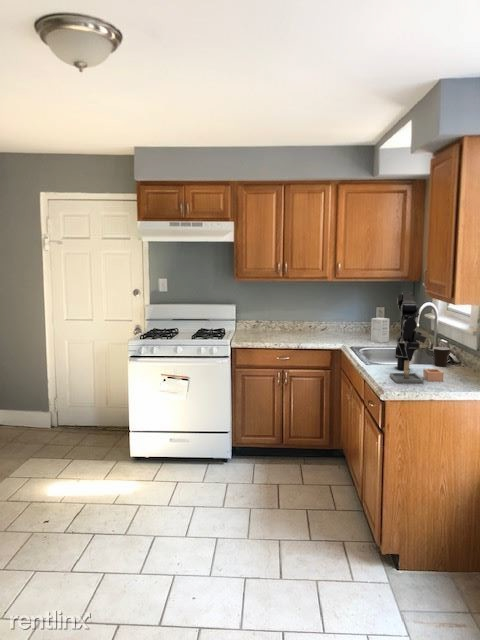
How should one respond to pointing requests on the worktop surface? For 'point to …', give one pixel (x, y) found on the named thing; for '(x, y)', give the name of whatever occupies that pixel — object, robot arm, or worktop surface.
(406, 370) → the dowel pin
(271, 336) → the worktop surface
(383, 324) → the supplement box
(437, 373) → the terracotta square hollow block
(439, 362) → the coffee mug
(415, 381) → the charcoal tray
